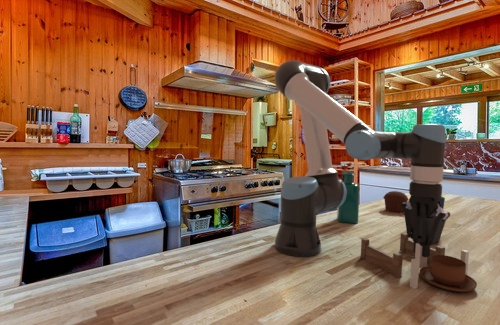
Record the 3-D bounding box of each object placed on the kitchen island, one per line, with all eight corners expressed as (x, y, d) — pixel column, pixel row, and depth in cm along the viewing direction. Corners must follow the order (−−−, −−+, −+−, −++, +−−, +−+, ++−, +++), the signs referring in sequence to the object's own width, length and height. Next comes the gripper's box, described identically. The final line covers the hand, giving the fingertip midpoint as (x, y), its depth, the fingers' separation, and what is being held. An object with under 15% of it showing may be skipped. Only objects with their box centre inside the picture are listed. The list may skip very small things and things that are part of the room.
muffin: (384, 212, 145) (385, 192, 144) (381, 207, 155) (382, 189, 154) (410, 214, 141) (411, 194, 140) (405, 209, 152) (406, 190, 151)
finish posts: (414, 288, 70) (415, 261, 69) (409, 286, 71) (411, 259, 70) (467, 276, 76) (468, 251, 76) (462, 274, 78) (464, 249, 77)
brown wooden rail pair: (396, 277, 76) (398, 255, 75) (360, 257, 88) (361, 238, 88) (443, 267, 82) (445, 247, 81) (403, 250, 94) (404, 232, 94)
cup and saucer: (419, 269, 81) (420, 248, 81) (472, 280, 75) (474, 257, 74) (418, 287, 71) (420, 263, 70) (480, 302, 65) (482, 276, 64)
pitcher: (358, 224, 124) (361, 173, 122) (338, 222, 125) (340, 173, 124) (355, 218, 133) (357, 171, 131) (336, 216, 135) (338, 170, 133)
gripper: (460, 184, 72) (453, 274, 74) (414, 178, 84) (410, 255, 86) (439, 186, 70) (432, 279, 71) (395, 179, 82) (391, 258, 84)
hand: (420, 266), depth 79 cm, fingers closed
